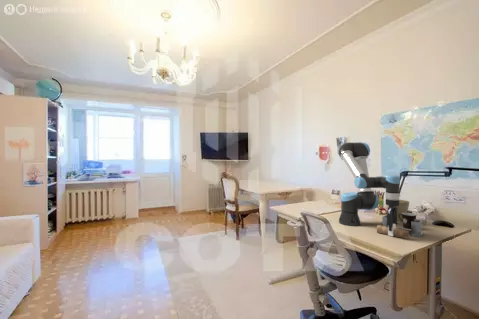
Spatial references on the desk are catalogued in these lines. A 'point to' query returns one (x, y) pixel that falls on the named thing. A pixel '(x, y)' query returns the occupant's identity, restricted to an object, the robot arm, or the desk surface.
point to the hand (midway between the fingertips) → (391, 234)
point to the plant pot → (402, 209)
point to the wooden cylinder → (396, 232)
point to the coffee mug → (407, 219)
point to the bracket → (415, 227)
